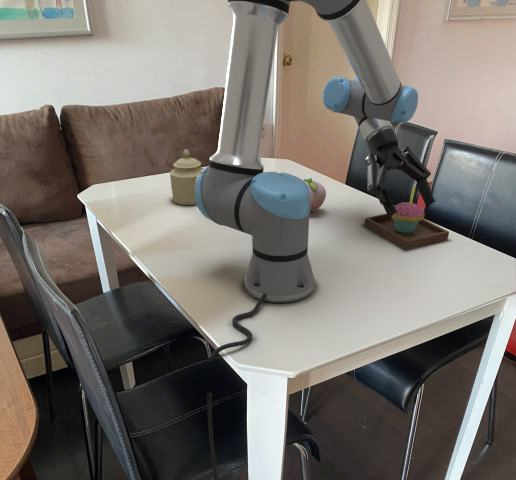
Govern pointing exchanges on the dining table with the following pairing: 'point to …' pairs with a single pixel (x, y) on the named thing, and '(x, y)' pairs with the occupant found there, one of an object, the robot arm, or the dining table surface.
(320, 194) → the decorative fruit
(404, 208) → the cupcake
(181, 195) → the sugar bowl
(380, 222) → the tray
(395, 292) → the dining table surface
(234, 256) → the dining table surface
